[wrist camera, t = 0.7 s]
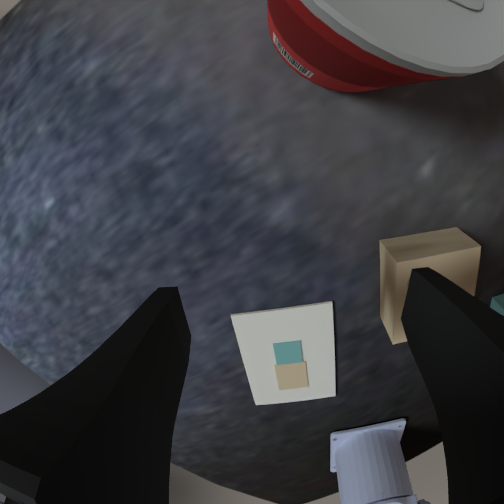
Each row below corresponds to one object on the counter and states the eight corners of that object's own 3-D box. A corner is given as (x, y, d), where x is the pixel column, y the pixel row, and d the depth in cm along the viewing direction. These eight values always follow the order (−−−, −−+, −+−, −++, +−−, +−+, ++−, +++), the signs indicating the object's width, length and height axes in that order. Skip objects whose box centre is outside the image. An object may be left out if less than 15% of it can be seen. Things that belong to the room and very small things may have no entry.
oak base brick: (448, 298, 21) (468, 324, 18) (379, 314, 22) (392, 344, 19) (455, 226, 19) (481, 246, 16) (378, 238, 20) (396, 262, 16)
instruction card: (335, 394, 25) (335, 396, 25) (255, 403, 26) (255, 405, 26) (331, 300, 21) (332, 303, 21) (231, 314, 22) (230, 316, 22)
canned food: (393, 108, 16) (521, 117, 6) (257, 78, 16) (241, 25, 6) (406, 0, 13) (511, -66, 3) (276, -33, 13) (281, -152, 3)
